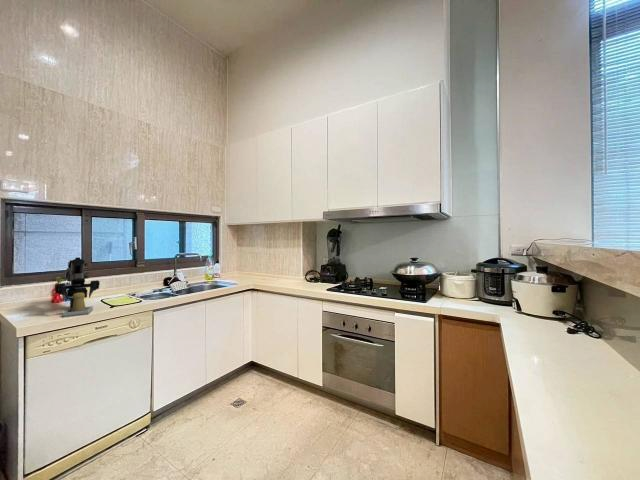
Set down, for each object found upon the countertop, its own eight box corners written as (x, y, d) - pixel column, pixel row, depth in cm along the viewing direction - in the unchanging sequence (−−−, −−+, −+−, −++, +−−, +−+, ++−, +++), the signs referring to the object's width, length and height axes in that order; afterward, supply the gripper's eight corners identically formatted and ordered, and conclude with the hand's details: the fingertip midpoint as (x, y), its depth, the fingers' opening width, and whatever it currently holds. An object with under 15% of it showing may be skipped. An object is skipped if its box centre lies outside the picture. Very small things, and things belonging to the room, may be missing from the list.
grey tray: (69, 312, 149) (69, 308, 149) (92, 310, 154) (92, 306, 154) (62, 317, 140) (62, 313, 140) (88, 314, 145) (88, 310, 145)
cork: (83, 312, 146) (83, 293, 146) (69, 314, 143) (69, 294, 143) (88, 310, 151) (88, 291, 151) (74, 311, 149) (74, 292, 149)
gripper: (55, 269, 143) (55, 292, 135) (99, 266, 157) (101, 287, 149) (54, 282, 149) (55, 304, 141) (97, 278, 162) (99, 298, 154)
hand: (78, 298), depth 146 cm, fingers open, 9 cm apart
